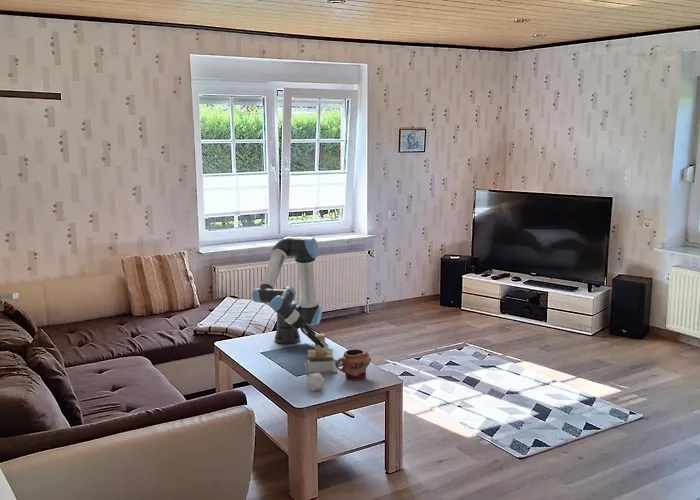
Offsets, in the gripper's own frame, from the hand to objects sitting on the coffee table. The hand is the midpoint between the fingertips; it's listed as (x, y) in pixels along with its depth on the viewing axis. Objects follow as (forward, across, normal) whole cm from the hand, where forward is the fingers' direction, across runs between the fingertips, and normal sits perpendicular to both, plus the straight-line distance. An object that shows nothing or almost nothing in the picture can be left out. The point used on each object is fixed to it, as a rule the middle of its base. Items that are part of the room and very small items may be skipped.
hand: (327, 348), depth 340 cm
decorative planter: (+16, +16, 0) cm, 22 cm away
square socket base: (+5, 0, -10) cm, 11 cm away
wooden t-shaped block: (0, 0, -5) cm, 5 cm away
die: (+2, +28, -14) cm, 31 cm away
